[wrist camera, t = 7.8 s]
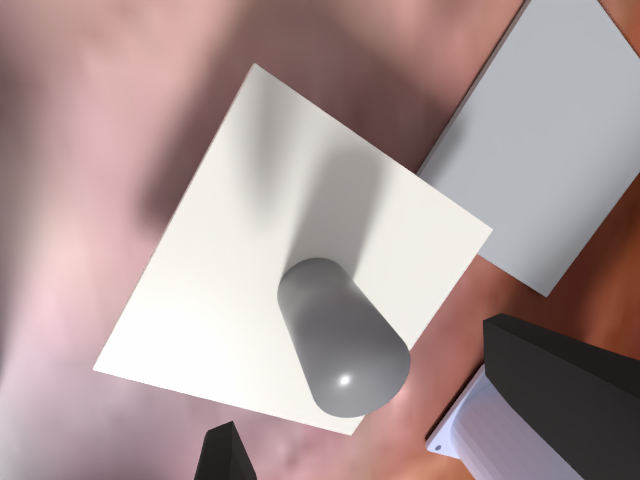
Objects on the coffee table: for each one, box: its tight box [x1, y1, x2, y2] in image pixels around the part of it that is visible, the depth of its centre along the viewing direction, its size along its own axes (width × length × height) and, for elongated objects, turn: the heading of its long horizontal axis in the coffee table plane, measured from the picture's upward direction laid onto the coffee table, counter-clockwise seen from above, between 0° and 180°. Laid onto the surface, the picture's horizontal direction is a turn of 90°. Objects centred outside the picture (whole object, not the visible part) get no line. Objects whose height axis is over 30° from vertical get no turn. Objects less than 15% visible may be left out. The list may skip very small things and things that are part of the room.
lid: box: [92, 63, 493, 435], centre depth 13 cm, size 12×12×6 cm
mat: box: [416, 0, 640, 297], centre depth 22 cm, size 14×14×1 cm
